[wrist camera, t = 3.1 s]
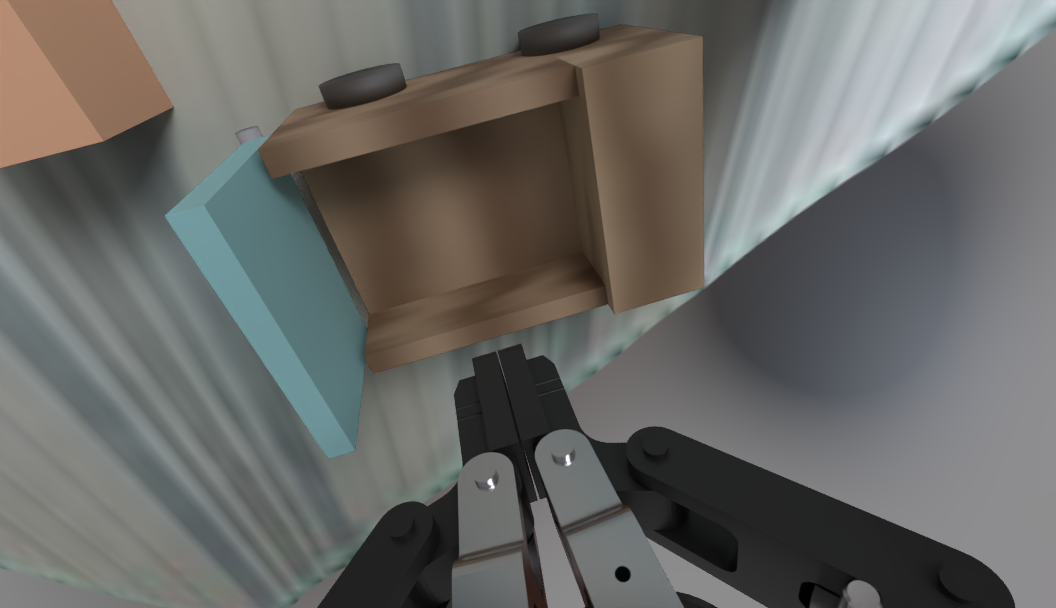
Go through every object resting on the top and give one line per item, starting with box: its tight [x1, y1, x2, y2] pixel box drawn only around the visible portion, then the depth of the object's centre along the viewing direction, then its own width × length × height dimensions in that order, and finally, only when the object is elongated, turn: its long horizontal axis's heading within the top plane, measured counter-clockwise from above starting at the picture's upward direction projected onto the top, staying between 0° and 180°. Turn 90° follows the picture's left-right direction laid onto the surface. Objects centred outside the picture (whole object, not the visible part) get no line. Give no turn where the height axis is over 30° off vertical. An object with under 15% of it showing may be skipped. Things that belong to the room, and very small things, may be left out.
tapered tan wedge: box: [0, 0, 174, 168], centre depth 20 cm, size 5×7×7 cm
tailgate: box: [165, 126, 367, 459], centre depth 22 cm, size 2×12×10 cm, turn 12°
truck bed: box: [257, 14, 704, 373], centre depth 26 cm, size 18×14×9 cm
